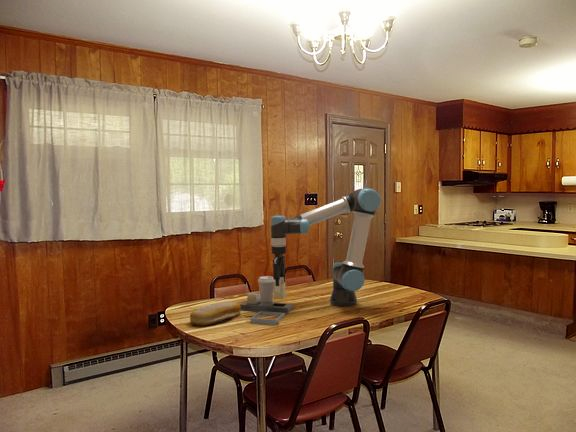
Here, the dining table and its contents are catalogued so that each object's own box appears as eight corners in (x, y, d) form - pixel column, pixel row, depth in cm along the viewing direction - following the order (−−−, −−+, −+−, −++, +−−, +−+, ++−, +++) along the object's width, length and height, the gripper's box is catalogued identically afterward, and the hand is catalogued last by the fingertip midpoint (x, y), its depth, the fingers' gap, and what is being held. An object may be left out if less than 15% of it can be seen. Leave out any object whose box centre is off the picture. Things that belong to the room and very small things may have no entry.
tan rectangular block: (285, 297, 228) (285, 281, 228) (283, 299, 224) (282, 283, 223) (276, 296, 230) (276, 281, 229) (273, 298, 225) (273, 283, 225)
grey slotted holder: (292, 311, 230) (292, 303, 230) (287, 315, 221) (287, 307, 221) (246, 307, 237) (246, 300, 237) (239, 312, 228) (239, 304, 228)
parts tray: (284, 317, 217) (284, 313, 217) (276, 325, 205) (276, 320, 205) (259, 315, 221) (259, 311, 221) (250, 323, 209) (250, 318, 208)
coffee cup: (272, 306, 239) (272, 279, 238) (255, 305, 241) (255, 278, 240) (276, 302, 249) (276, 276, 248) (260, 301, 250) (260, 275, 250)
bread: (246, 317, 220) (245, 301, 219) (204, 329, 200) (204, 312, 199) (227, 312, 228) (227, 297, 228) (186, 324, 208) (185, 307, 208)
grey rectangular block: (259, 308, 233) (259, 293, 232) (256, 310, 228) (256, 295, 227) (250, 307, 234) (250, 292, 234) (247, 309, 229) (247, 294, 229)
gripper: (277, 243, 235) (278, 286, 236) (266, 248, 218) (267, 294, 219) (290, 243, 233) (291, 287, 234) (280, 248, 216) (281, 295, 217)
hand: (279, 290), depth 227 cm, fingers closed on tan rectangular block, 5 cm apart
